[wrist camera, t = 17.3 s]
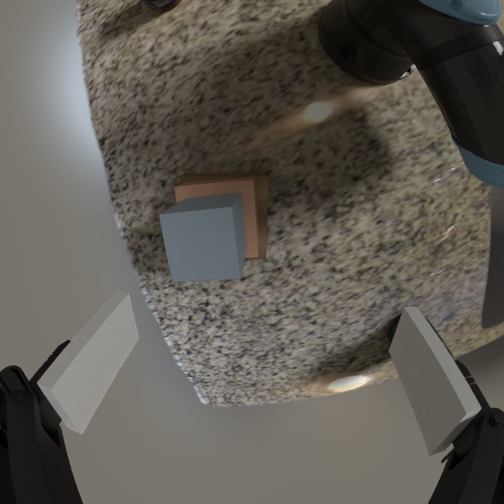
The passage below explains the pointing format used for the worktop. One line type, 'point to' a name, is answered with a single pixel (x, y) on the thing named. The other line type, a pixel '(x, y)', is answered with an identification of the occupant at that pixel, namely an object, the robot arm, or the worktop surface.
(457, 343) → the worktop surface
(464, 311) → the worktop surface
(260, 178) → the walnut slab
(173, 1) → the supplement bottle
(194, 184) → the terracotta block
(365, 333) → the worktop surface
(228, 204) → the grey cube
